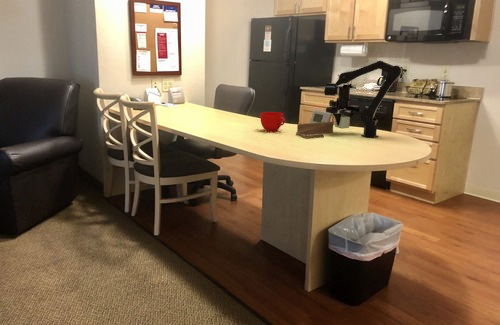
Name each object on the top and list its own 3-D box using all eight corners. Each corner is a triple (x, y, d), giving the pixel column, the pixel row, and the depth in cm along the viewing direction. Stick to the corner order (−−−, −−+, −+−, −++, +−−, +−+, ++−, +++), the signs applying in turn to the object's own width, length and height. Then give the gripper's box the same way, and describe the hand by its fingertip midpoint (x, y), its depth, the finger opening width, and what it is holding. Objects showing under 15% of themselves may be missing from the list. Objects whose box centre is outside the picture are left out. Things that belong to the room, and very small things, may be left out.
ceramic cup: (275, 134, 213) (275, 116, 210) (255, 130, 225) (255, 113, 223) (292, 132, 220) (292, 114, 218) (272, 128, 233) (272, 111, 230)
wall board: (342, 135, 211) (343, 124, 209) (305, 138, 203) (306, 127, 201) (331, 132, 220) (331, 121, 219) (295, 135, 212) (296, 124, 210)
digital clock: (307, 126, 237) (308, 109, 235) (321, 126, 240) (321, 108, 237) (319, 131, 222) (320, 113, 219) (333, 130, 225) (334, 112, 222)
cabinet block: (349, 128, 212) (349, 115, 210) (341, 128, 210) (342, 116, 208) (342, 126, 217) (343, 114, 216) (334, 126, 216) (335, 114, 214)
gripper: (349, 94, 220) (347, 121, 224) (320, 95, 213) (319, 123, 217) (361, 96, 210) (359, 124, 214) (332, 97, 203) (330, 127, 207)
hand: (342, 125), depth 213 cm, fingers closed on cabinet block, 5 cm apart
